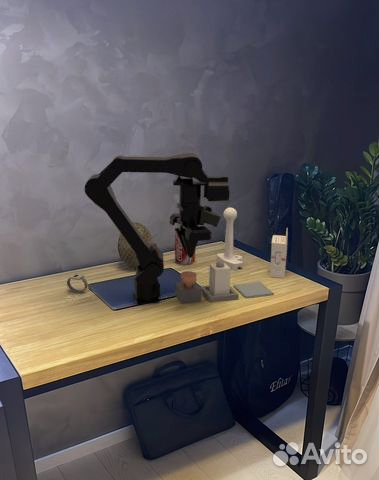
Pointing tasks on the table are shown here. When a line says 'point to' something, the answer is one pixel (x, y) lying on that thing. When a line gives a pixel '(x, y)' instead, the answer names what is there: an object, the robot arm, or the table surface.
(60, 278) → the table surface
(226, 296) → the collar
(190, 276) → the release button
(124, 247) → the decorative egg
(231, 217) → the joystick
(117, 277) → the table surface
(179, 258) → the soda can
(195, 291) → the button housing
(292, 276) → the table surface
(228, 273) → the beige block
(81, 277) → the wristwatch
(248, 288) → the slate pad
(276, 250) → the white walkie-talkie
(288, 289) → the table surface
